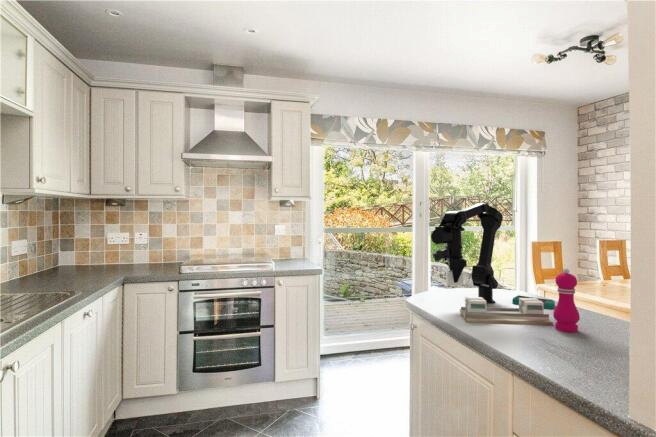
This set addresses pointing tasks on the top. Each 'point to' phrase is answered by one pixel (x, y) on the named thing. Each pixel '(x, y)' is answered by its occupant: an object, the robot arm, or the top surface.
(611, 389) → the top surface
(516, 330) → the top surface
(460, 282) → the block
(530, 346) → the top surface
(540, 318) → the rail panel
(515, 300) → the digital multimeter
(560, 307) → the pepper mill
